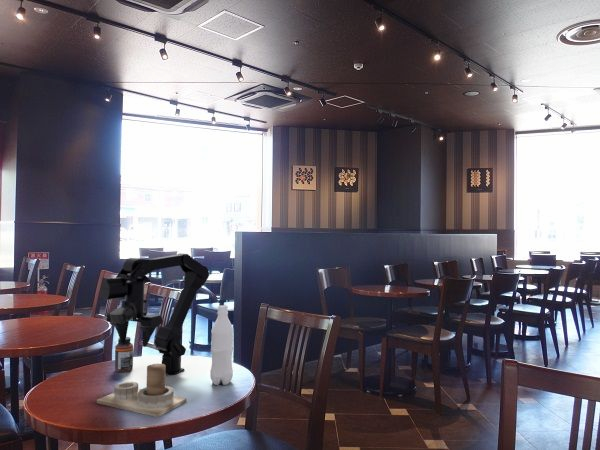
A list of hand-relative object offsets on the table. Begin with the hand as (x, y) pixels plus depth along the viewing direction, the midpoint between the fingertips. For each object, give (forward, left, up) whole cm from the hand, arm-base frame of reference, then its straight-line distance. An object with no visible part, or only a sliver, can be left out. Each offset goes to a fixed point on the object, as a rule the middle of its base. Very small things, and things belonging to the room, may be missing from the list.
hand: (133, 345), depth 146 cm
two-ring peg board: (+12, +15, -12) cm, 23 cm away
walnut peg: (+12, +20, -11) cm, 26 cm away
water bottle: (-12, +26, -12) cm, 31 cm away
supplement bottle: (-8, -12, -12) cm, 19 cm away
